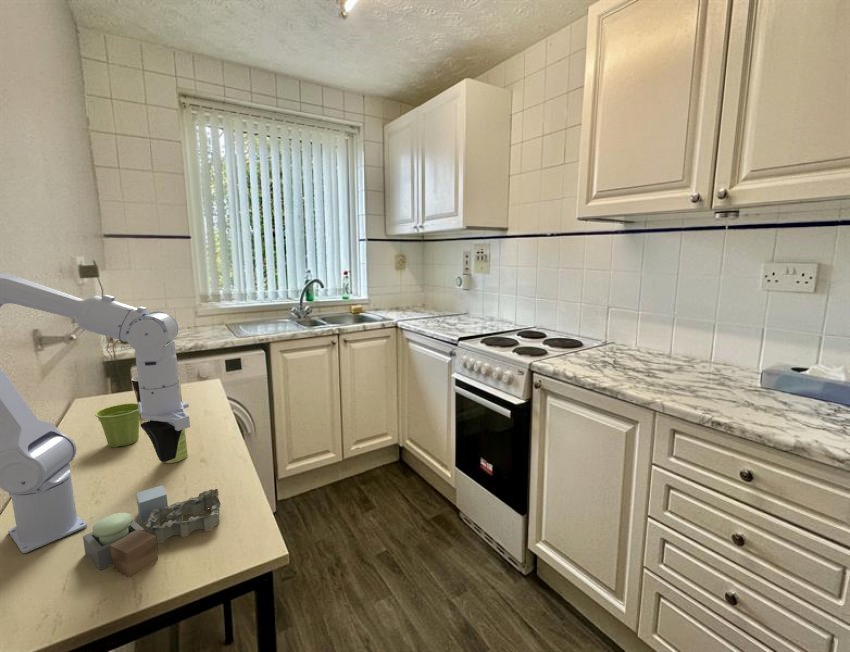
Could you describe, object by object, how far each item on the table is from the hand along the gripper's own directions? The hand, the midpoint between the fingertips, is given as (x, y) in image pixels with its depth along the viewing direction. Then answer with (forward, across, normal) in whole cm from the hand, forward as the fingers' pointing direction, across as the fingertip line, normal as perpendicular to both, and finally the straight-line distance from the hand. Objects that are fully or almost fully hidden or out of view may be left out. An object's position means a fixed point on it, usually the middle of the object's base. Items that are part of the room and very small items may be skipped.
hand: (167, 459), depth 71 cm
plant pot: (+11, +42, -7) cm, 44 cm away
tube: (+11, +22, -10) cm, 26 cm away
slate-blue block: (+10, +3, +2) cm, 11 cm away
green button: (+10, -2, +10) cm, 14 cm away
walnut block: (+10, -8, +9) cm, 16 cm away
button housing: (+10, -2, +10) cm, 14 cm away
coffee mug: (+11, +62, -21) cm, 66 cm away
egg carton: (+11, -5, 0) cm, 12 cm away
